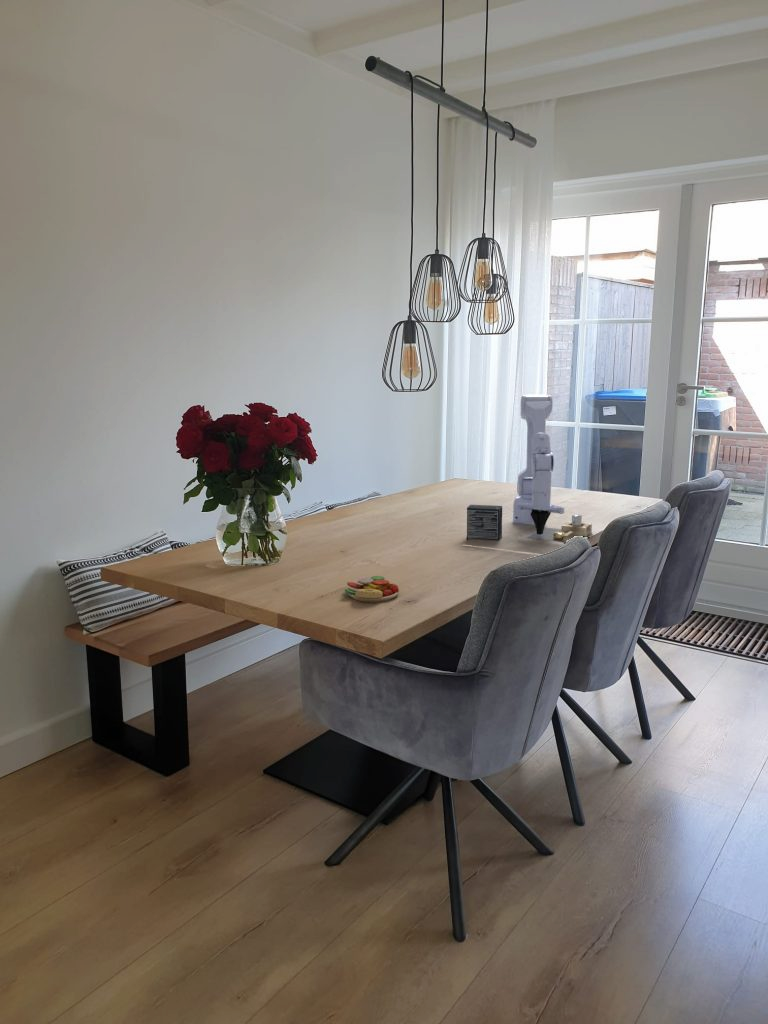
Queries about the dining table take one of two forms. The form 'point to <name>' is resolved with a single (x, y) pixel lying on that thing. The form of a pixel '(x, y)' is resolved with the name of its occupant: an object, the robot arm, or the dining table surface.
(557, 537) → the gold metal dome
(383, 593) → the toy food set
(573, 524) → the steel pin
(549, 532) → the slate board
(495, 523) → the small box
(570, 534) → the beech rail
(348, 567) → the dining table surface
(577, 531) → the beech socket block
